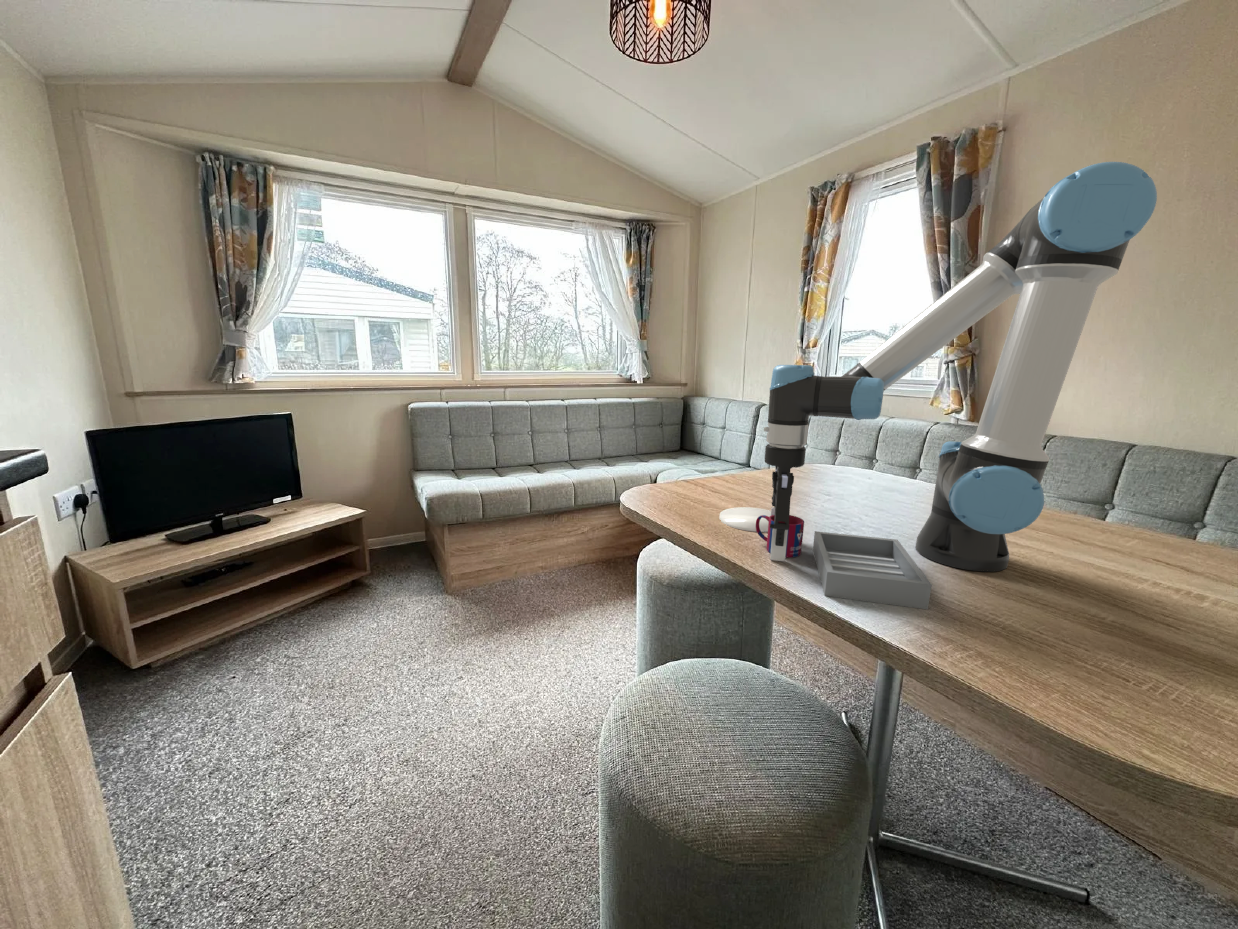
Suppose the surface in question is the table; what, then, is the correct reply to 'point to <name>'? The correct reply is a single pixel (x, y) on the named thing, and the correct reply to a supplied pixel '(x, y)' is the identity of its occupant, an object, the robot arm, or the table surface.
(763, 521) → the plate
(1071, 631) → the table surface
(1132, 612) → the table surface
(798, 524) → the mug
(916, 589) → the rack
